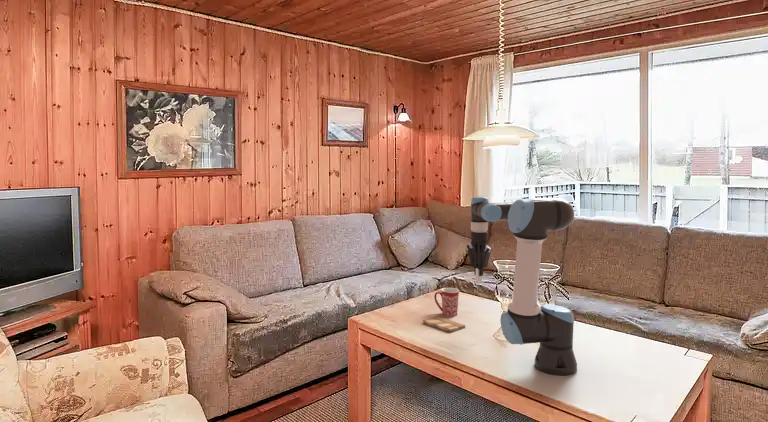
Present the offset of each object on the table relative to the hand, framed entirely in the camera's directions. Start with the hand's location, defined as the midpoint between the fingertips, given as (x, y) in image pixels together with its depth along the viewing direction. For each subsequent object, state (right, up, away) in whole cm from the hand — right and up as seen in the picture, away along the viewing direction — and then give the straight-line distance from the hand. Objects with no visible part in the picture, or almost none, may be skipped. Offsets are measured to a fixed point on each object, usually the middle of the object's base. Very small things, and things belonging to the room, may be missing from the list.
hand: (478, 282), depth 226 cm
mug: (-12, -20, +24) cm, 33 cm away
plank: (-17, -21, +5) cm, 27 cm away
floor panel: (-15, -22, +6) cm, 27 cm away
